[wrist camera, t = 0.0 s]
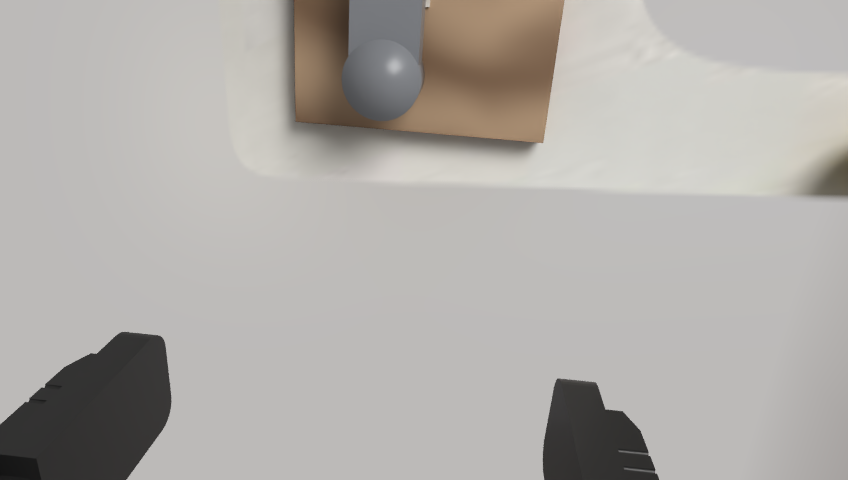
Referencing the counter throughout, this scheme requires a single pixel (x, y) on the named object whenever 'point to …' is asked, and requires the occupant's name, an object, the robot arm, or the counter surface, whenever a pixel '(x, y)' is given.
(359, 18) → the swing arm
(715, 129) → the counter surface
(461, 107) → the label board
